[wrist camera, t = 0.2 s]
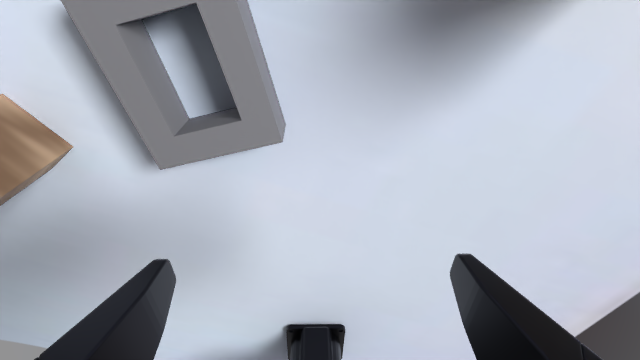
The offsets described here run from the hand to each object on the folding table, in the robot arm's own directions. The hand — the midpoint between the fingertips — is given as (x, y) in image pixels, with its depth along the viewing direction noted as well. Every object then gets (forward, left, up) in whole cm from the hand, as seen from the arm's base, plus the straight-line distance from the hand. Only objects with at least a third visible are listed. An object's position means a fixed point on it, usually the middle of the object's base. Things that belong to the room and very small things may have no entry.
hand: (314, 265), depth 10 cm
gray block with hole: (+3, +7, -15) cm, 16 cm away
